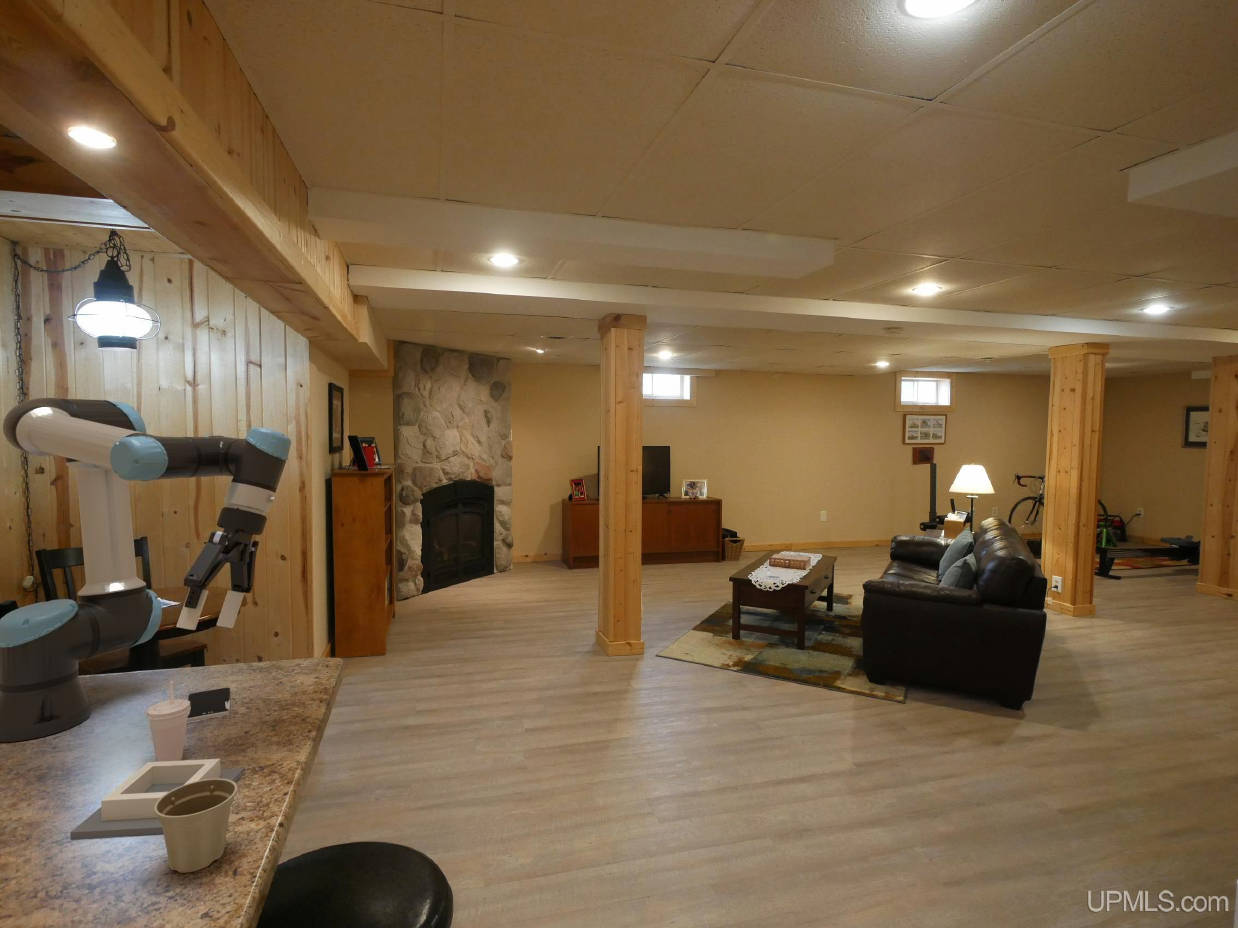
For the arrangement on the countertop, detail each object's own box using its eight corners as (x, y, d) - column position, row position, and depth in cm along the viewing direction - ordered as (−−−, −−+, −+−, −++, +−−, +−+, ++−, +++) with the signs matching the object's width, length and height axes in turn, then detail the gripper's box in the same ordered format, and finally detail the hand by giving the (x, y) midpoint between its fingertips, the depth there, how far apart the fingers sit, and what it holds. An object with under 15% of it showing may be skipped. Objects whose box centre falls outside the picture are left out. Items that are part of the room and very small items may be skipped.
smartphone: (230, 686, 142) (229, 711, 129) (230, 692, 142) (229, 717, 130) (189, 693, 138) (184, 719, 126) (189, 699, 138) (184, 726, 126)
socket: (142, 778, 106) (141, 754, 105) (243, 773, 107) (243, 750, 107) (70, 839, 90) (69, 811, 90) (191, 832, 92) (190, 805, 91)
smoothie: (198, 757, 113) (197, 679, 112) (157, 773, 107) (155, 692, 107) (181, 747, 116) (179, 672, 115) (140, 762, 111) (138, 683, 110)
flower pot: (223, 827, 93) (222, 770, 92) (249, 855, 87) (248, 793, 86) (145, 860, 85) (144, 798, 85) (168, 893, 79) (166, 826, 79)
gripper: (235, 503, 105) (191, 633, 100) (291, 523, 129) (258, 629, 124) (189, 494, 104) (141, 624, 99) (254, 516, 128) (218, 622, 123)
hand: (206, 627), depth 111 cm, fingers open, 13 cm apart
